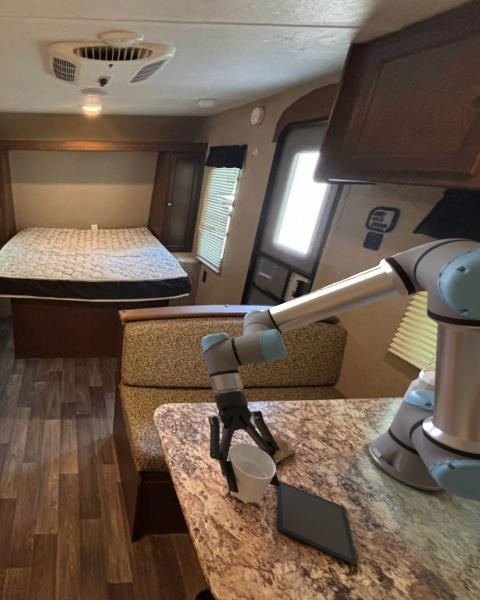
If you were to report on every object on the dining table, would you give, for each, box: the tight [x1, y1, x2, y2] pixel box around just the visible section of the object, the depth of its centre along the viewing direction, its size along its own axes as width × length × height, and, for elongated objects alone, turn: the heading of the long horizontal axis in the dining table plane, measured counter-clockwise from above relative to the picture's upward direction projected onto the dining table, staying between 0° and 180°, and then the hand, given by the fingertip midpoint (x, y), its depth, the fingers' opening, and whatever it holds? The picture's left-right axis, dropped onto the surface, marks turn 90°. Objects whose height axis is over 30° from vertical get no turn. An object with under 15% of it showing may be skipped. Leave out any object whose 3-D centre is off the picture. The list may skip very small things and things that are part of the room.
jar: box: [395, 368, 435, 413], centre depth 99 cm, size 10×10×18 cm
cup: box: [224, 442, 277, 505], centre depth 77 cm, size 10×10×10 cm
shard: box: [262, 433, 296, 465], centre depth 91 cm, size 11×8×2 cm
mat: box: [276, 479, 358, 568], centre depth 73 cm, size 14×14×1 cm
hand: (254, 488), depth 75 cm, fingers closed on cup, 10 cm apart
